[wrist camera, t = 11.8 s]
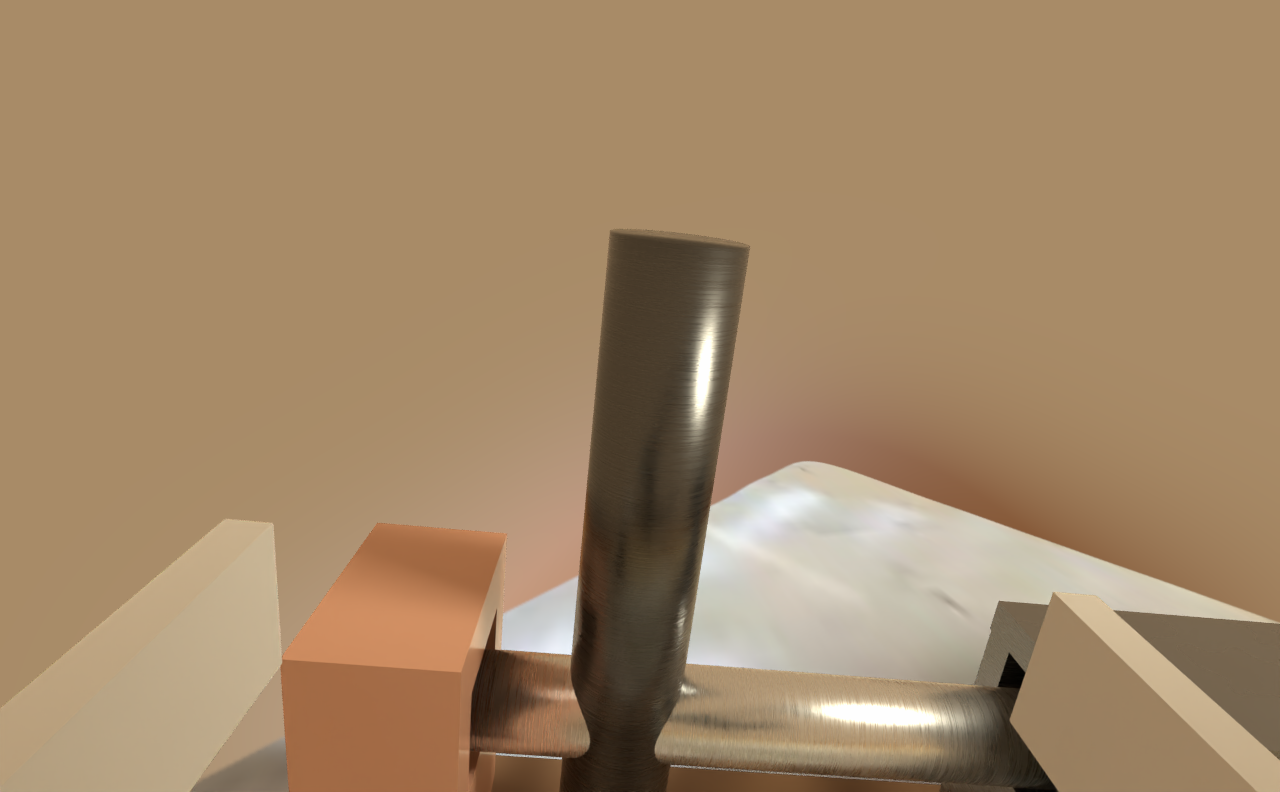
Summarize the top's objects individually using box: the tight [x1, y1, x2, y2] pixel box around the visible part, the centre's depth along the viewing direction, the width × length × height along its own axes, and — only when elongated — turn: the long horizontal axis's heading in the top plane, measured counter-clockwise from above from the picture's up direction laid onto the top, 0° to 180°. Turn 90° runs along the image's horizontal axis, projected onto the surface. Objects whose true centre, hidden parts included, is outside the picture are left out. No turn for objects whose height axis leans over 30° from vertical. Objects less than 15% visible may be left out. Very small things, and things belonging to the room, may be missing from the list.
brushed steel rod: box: [469, 229, 1057, 792], centre depth 21 cm, size 24×4×20 cm, turn 91°
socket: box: [280, 523, 507, 792], centre depth 22 cm, size 4×7×11 cm, turn 1°
